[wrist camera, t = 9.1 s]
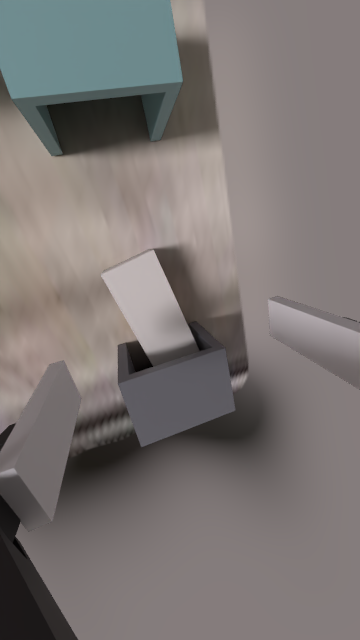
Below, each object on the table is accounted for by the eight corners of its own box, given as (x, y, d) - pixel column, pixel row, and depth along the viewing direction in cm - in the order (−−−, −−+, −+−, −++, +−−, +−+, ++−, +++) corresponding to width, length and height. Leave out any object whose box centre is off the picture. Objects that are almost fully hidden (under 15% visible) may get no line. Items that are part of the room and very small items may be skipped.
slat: (103, 270, 23) (100, 274, 19) (147, 249, 23) (153, 249, 19) (154, 361, 27) (160, 379, 23) (191, 342, 28) (202, 356, 24)
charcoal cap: (117, 345, 25) (117, 383, 18) (196, 321, 27) (225, 347, 19) (135, 395, 27) (141, 447, 20) (206, 370, 29) (235, 410, 22)
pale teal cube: (12, 42, 16) (-70, -118, 9) (139, 34, 18) (153, -106, 11) (51, 155, 19) (11, 98, 12) (160, 140, 20) (183, 81, 13)
